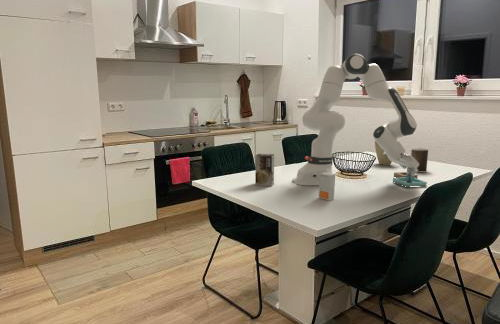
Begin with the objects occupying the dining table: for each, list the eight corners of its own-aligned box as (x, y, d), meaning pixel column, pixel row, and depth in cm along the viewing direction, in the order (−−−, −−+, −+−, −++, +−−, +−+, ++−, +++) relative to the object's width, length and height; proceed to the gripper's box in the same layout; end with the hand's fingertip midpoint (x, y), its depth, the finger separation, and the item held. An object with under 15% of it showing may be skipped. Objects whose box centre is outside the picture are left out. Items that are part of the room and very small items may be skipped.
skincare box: (318, 198, 181) (319, 173, 178) (323, 196, 184) (324, 171, 181) (329, 200, 176) (330, 175, 174) (334, 199, 179) (335, 173, 177)
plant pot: (380, 161, 273) (382, 139, 270) (400, 164, 262) (402, 141, 259) (368, 164, 264) (370, 140, 261) (388, 167, 252) (390, 143, 250)
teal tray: (406, 187, 200) (406, 183, 200) (392, 182, 212) (393, 178, 211) (426, 186, 203) (426, 182, 202) (411, 181, 214) (412, 177, 214)
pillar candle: (427, 172, 237) (429, 148, 234) (410, 171, 240) (412, 147, 237) (425, 170, 246) (427, 146, 243) (409, 168, 249) (411, 145, 246)
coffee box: (274, 183, 208) (274, 154, 205) (271, 186, 202) (272, 156, 199) (257, 182, 210) (258, 153, 207) (254, 185, 204) (255, 155, 201)
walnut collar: (403, 181, 215) (403, 175, 214) (393, 177, 223) (394, 172, 223) (417, 180, 217) (417, 175, 216) (407, 176, 225) (407, 171, 225)
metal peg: (408, 184, 205) (410, 162, 203) (404, 182, 208) (406, 160, 206) (414, 183, 206) (416, 161, 204) (410, 182, 209) (412, 160, 207)
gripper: (412, 150, 192) (428, 169, 196) (389, 145, 212) (403, 161, 216) (404, 160, 192) (419, 178, 196) (381, 153, 211) (395, 170, 215)
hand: (410, 169), depth 206 cm, fingers open, 8 cm apart
